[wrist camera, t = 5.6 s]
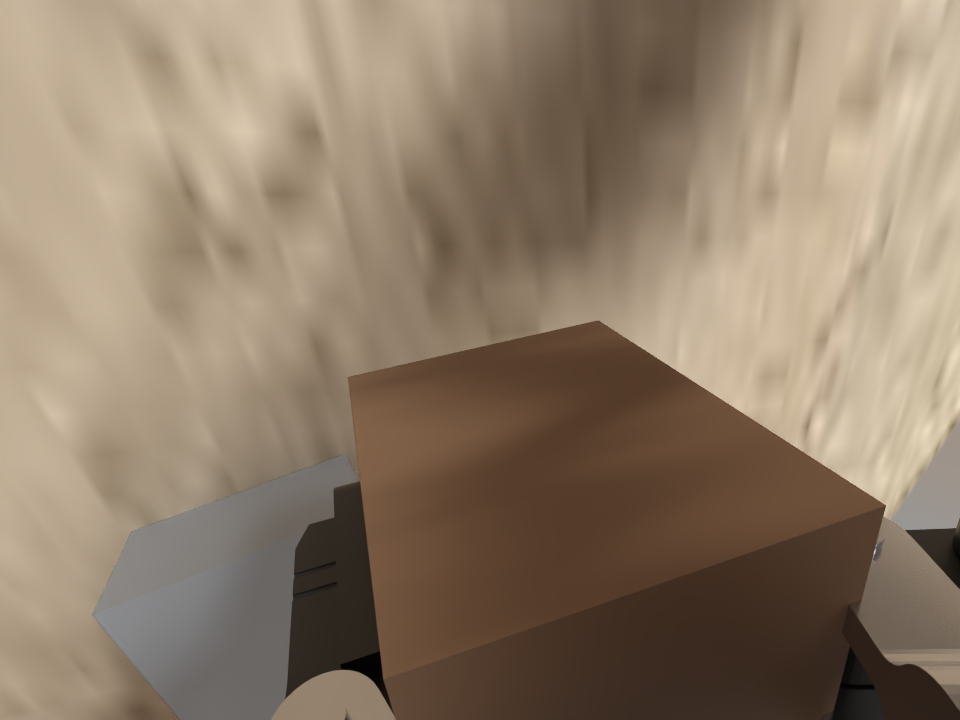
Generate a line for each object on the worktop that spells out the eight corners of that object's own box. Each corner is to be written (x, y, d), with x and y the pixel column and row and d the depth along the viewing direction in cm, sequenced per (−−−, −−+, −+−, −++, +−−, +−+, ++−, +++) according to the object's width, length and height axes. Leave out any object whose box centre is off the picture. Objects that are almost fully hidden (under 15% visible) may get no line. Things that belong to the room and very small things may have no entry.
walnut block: (598, 320, 10) (885, 504, 5) (604, 514, 13) (812, 788, 7) (348, 377, 9) (383, 678, 4) (399, 578, 12) (466, 950, 6)
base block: (345, 450, 26) (352, 515, 21) (405, 589, 30) (420, 667, 25) (133, 527, 24) (91, 615, 19) (228, 662, 28) (212, 759, 24)
